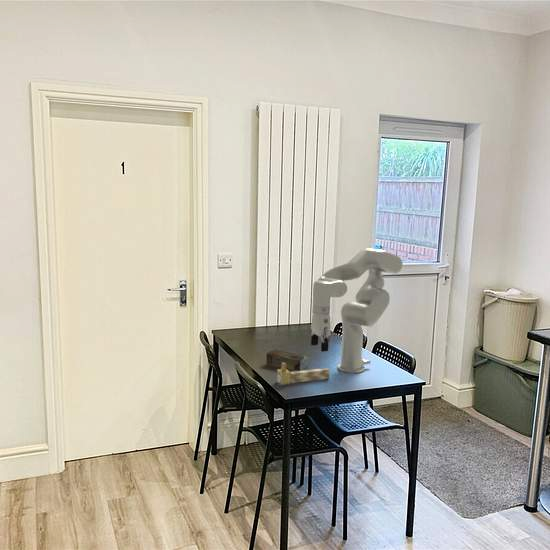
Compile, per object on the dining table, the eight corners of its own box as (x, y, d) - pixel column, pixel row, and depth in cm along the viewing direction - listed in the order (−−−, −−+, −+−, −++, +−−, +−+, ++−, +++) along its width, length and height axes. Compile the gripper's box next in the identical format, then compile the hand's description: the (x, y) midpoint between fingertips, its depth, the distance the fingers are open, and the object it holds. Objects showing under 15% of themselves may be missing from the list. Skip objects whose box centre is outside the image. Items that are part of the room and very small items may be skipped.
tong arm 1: (326, 376, 243) (327, 368, 242) (327, 377, 242) (328, 368, 241) (289, 380, 236) (289, 371, 236) (290, 381, 235) (290, 372, 234)
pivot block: (286, 381, 236) (286, 371, 235) (289, 384, 233) (289, 374, 232) (277, 382, 234) (277, 372, 234) (280, 385, 231) (280, 375, 231)
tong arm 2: (327, 377, 242) (328, 368, 241) (329, 378, 241) (329, 369, 240) (290, 382, 235) (291, 373, 234) (292, 382, 234) (292, 374, 233)
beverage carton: (300, 373, 248) (300, 359, 247) (265, 365, 258) (265, 352, 257) (309, 369, 254) (309, 355, 253) (274, 361, 265) (275, 348, 264)
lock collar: (285, 380, 237) (285, 361, 235) (290, 384, 232) (290, 364, 231) (276, 381, 235) (277, 361, 234) (281, 385, 231) (282, 365, 229)
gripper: (338, 313, 229) (336, 352, 231) (319, 305, 245) (318, 342, 247) (322, 314, 226) (320, 354, 229) (304, 306, 242) (303, 343, 244)
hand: (319, 348), depth 238 cm, fingers open, 9 cm apart
